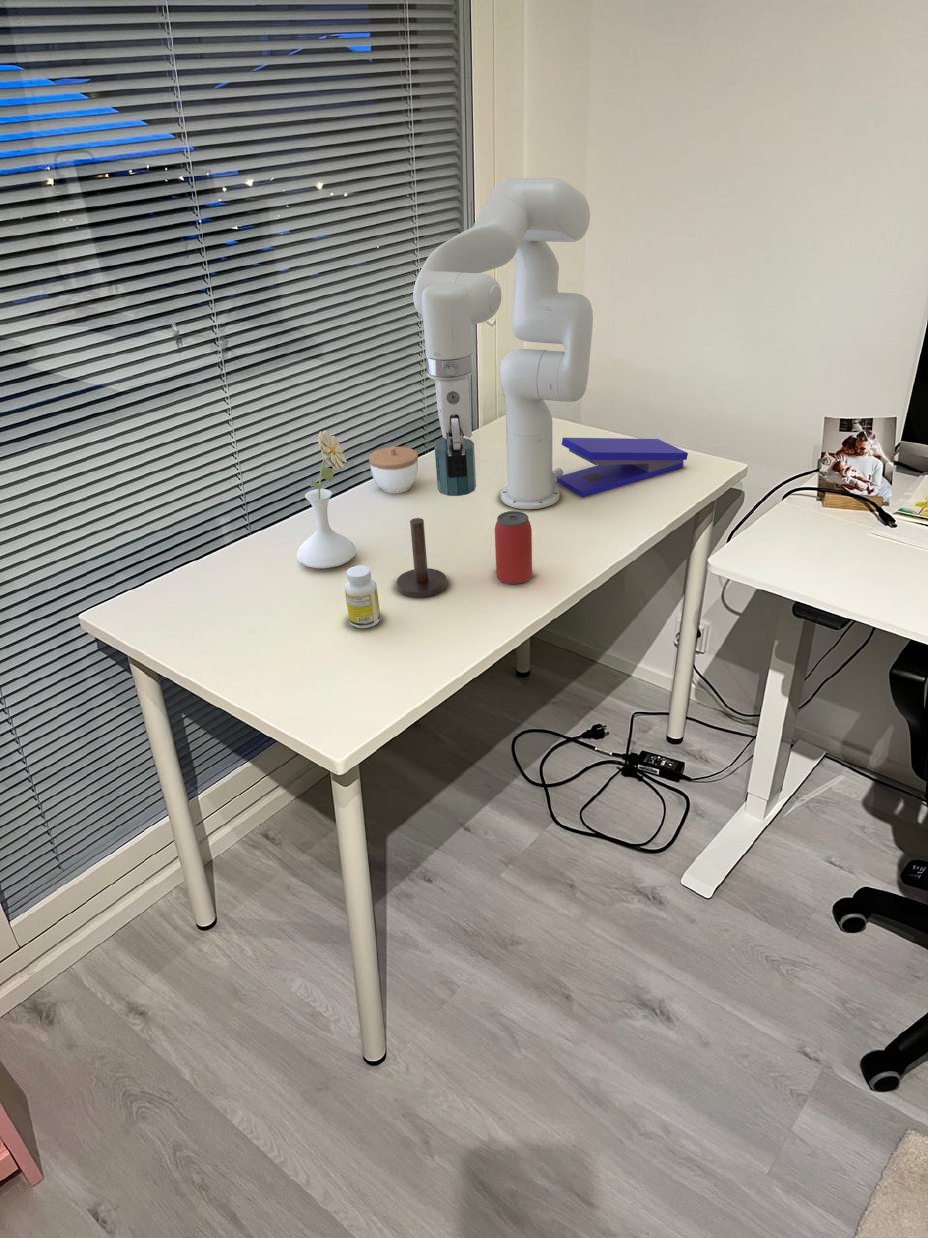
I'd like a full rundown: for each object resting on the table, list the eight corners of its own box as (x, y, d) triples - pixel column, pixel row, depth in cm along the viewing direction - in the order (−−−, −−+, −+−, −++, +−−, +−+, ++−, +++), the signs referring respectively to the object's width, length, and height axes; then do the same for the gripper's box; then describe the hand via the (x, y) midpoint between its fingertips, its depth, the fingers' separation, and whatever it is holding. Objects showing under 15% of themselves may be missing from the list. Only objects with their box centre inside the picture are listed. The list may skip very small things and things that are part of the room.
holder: (419, 569, 180) (414, 505, 173) (456, 582, 175) (452, 517, 168) (387, 588, 174) (380, 524, 167) (424, 602, 169) (419, 536, 162)
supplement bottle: (364, 609, 168) (358, 560, 163) (387, 618, 165) (381, 568, 160) (342, 623, 165) (335, 573, 159) (365, 632, 162) (358, 582, 156)
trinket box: (429, 483, 214) (426, 444, 209) (401, 501, 206) (397, 460, 202) (391, 475, 219) (388, 436, 214) (362, 492, 212) (357, 452, 207)
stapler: (555, 481, 212) (555, 439, 207) (655, 452, 223) (657, 412, 218) (585, 498, 203) (586, 455, 198) (687, 468, 214) (691, 426, 209)
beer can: (532, 568, 178) (532, 509, 172) (531, 585, 172) (530, 525, 166) (497, 568, 179) (495, 509, 172) (495, 585, 173) (492, 525, 167)
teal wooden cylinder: (454, 477, 169) (452, 434, 165) (483, 485, 166) (481, 442, 161) (430, 490, 165) (427, 446, 161) (459, 499, 162) (456, 454, 157)
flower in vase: (332, 579, 178) (315, 452, 165) (285, 566, 183) (265, 442, 170) (373, 550, 187) (360, 428, 174) (327, 538, 193) (311, 419, 180)
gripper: (477, 379, 147) (482, 486, 156) (468, 347, 162) (473, 447, 171) (429, 383, 147) (437, 490, 156) (423, 350, 161) (431, 450, 171)
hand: (455, 466), depth 163 cm, fingers closed on teal wooden cylinder, 6 cm apart
